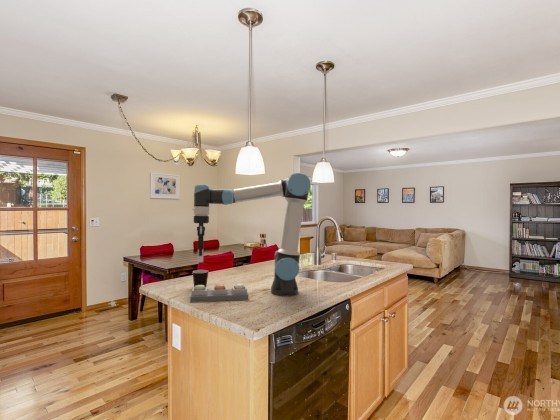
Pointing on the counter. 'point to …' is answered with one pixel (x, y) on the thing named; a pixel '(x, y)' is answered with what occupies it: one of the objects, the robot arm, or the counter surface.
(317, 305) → the counter surface
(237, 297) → the button panel
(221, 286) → the button terracotta
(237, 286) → the button cream
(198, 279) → the coffee mug
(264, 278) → the counter surface
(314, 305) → the counter surface
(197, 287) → the button sage
